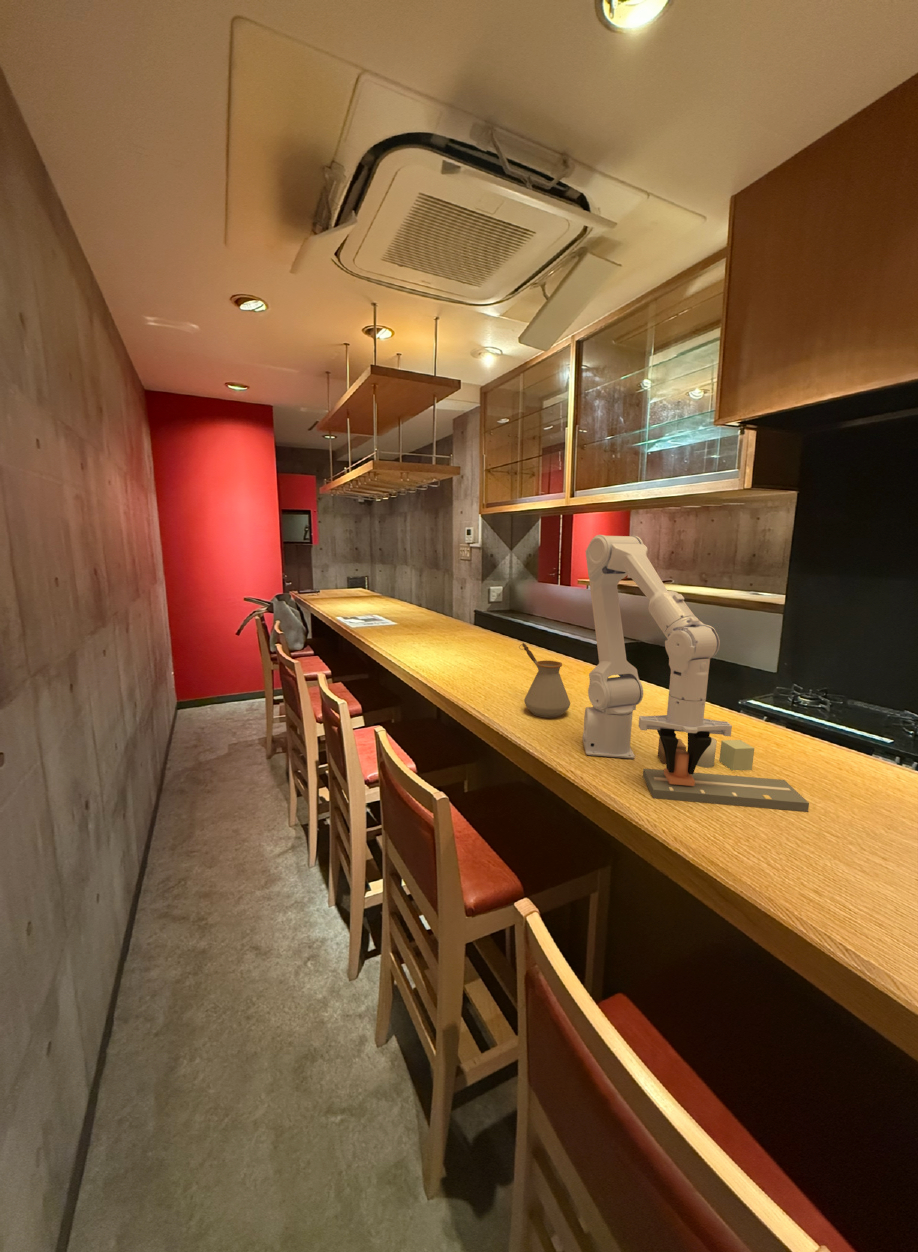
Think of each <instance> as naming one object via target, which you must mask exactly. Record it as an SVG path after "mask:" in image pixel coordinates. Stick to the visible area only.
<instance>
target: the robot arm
mask: <svg viewBox="0 0 918 1252" xmlns="http://www.w3.org/2000/svg"><path fill="white" fill-rule="evenodd" d="M648 551H649V550H648V547H647V546H646V545H645V544H644V542H643V540H642V539H641V538H640V537H639V536H637V535H630V536H628V535H627V536H626V535H624V536H623V535H604V534H597V535H594V537H593V538H591V541H590V542H589V544H588V545H587V548H586V550H585V557H586V559H585V560H586V567H587V574H588V575H587V576H588V579H589V589H590V597H591V605H592V615H593V622H594V630H595V638H596V639H595V640H596V646H597V647H596V648H597V654H598V655H597V656H598V664H597V665H596V666H595V667H594V668H593V669H592V670H591V671H590V672H589V674H588V678H589V684H588V690H587V694H588V695H587V696H588V699H589V701H590V703H591V705H592V706H587V707H585V710H584V715H583V716H584V718H583V720H584V721H583V733H582V743H583V747H584V751H585V754H586V755H588V756H595V757H596V756H597V757H606V758H607V757H609V758H620V759H621V758H623V759H635V757H636V755H635V754H634V752H633V749H632V748H631V747H632V746H631V737H632V727H633V726H632V725H633V715H634V713H633V712H634V711H636V710H637V705H639V704H640V703H641V702H642V700H643V697H644V687H643V684H642V682H641V680H640V677H639V673H638V669H637V668H636V666H634V665H632V664H631V663H630V662H629V661H628V660H627V653H626V646H625V644H626V643H625V638H624V630H623V623H622V621H623V620H622V615H621V607H620V599H619V597H620V596H619V591H618V585H619V584H620V582H621V581H622V579H625V578H626V577H627V576H629V578H631V580H632V581H633V582H634V583H635V585H636V586H637V587H638V588H639V590H640V591H641V592H642V593H643V594H644V596H646V598H647V599H648V601H649V603H648V607H647V609H648V613H649V614H650V616H651V617H652V618H653V620H654V621H655V622H656V625H657V626H658V627H659V629H660V630H661V632H662V633H663V635H664V636H665V637H666V640H665V641H664V645H665V647H664V648H665V652H666V654H667V656H668V658H669V659H668V666H669V668H670V676H669V687H668V700H667V709H666V715H665V714H663V715H639V717H638V728H639V730H640V731H644V732H645V731H647V730H652V731H657V733H658V736H659V737H660V739H661V742H662V745H663V748H664V752H665V758H666V765H665V767H666V768H667V770H668V771H669V772H670V773H674V767H675V753H676V748H677V744H678V741H679V740H678V739H679V738H678V737H677V733H676V732H682V733H687V749H686V751H687V752H689V754H690V755H689V765H688V773H689V774H693V773H695V770H696V767H697V763H698V761H699V759H700V757H701V756H702V754H703V753H704V751H705V750H706V749H707V748H708V747H709V746H710V745H711V741H712V738H713V737H712V736H710V735H721V736H724V737H731V736H732V728H733V726H732V724H731V723H730V722H728V721H724V720H715V719H709V718H704V717H705V707H706V701H707V691H708V682H709V681H708V680H709V672H710V671H709V670H710V662H711V659H712V658H714V657H715V656H716V655H717V654H718V652H719V650H720V645H721V641H720V637H719V634H718V633H717V631H716V629H715V628H714V627H713V626H711V625H710V624H709V625H708V624H705V623H703V622H702V620H701V621H700V619H698V617H697V616H695V614H694V613H693V611H691V610H692V609H691V608H689V606H688V604H686V602H685V597H684V596H683V595H682V593H678V592H677V591H673V590H668V589H667V587H666V585H665V584H664V582H663V581H662V579H661V577H660V576H659V574H658V573H657V571H656V569H655V568H654V566H653V564H652V563H651V561H650V559H649V558H648V553H649V552H648ZM612 676H615V677H612ZM711 737H712V738H711Z"/></svg>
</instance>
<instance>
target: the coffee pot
mask: <svg viewBox="0 0 918 1252" xmlns="http://www.w3.org/2000/svg"><path fill="white" fill-rule="evenodd" d="M521 646H522V648H520V647H521ZM518 648H519V649H521V650H523V651H526V654H527V656H528V657H529V658H530V659H531V661H532V662H533V663H534V665H535V666H536V667H537V673H536V675H535V677H534V679H533V681H532V683H531V685H530V687H529V689H528V692H527V693H526V695H525V697H524V699H523V700H524V705H525V707H526V708H527V709H528V711H530V712H531V713H532V714H533V715H534V716H537V717H539V718H540V717H541V718H548V719H550V718H551V719H554V718H560V717H561V716H563V714H564V713H566V712H567V711H568V710H569V709H570V707H571V701H570V699H569V696H568V693H567V691H566V687H565V685H564V682H563V679H562V676H561V675H560V669H561V667H562V666H563V663H562V662H560V661H555V660H546V659H545V660H537V659H536V657H535V655H534V654H533V653H532V651H531V650H530V649H529V647H528V645H527V644H526V643H524V642H522V643H521V644H520V645H519V646H518Z"/></svg>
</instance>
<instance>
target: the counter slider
mask: <svg viewBox="0 0 918 1252" xmlns="http://www.w3.org/2000/svg"><path fill="white" fill-rule="evenodd" d="M689 755H690V754H689V752H687V750H686V751H684V750H679V749H677V750H676V753H675V767H674V773H670V772H669V771H668V770H667V768H665V767H664V768H663V770H664V775H665V776H666V778H667V780H668V782H669V784H676V785H688V786H694V785H695V780H694V778H693V777H692V775H691V774H689V773H688V765H689Z"/></svg>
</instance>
